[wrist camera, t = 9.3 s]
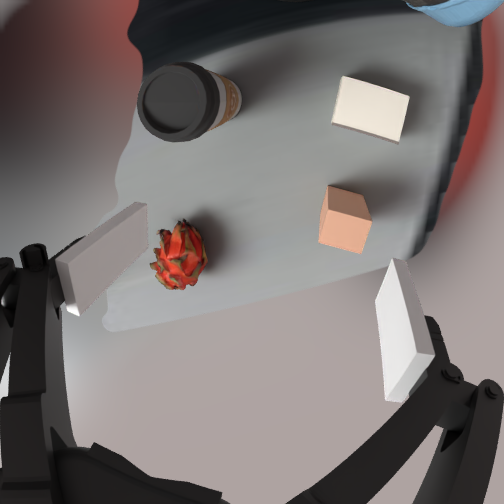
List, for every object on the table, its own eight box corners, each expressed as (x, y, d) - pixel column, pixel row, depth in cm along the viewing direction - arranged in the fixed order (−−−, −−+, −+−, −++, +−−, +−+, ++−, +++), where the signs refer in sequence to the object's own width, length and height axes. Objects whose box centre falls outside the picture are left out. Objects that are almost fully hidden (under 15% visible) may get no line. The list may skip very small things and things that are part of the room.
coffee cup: (248, 131, 41) (210, 147, 28) (190, 128, 42) (132, 144, 29) (252, 71, 37) (215, 58, 24) (192, 71, 38) (133, 63, 25)
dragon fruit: (182, 273, 56) (197, 209, 51) (210, 300, 50) (229, 230, 46) (139, 279, 50) (151, 208, 45) (164, 309, 44) (179, 231, 40)
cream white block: (340, 79, 35) (342, 75, 31) (400, 97, 34) (410, 96, 30) (330, 122, 38) (331, 124, 34) (390, 139, 37) (398, 144, 33)
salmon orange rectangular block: (327, 185, 42) (328, 209, 33) (362, 195, 41) (372, 221, 33) (320, 212, 44) (318, 242, 35) (354, 221, 43) (361, 253, 34)
